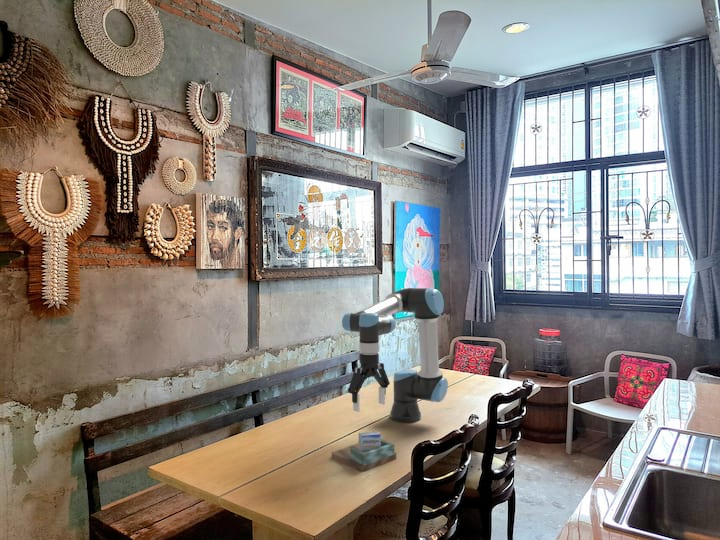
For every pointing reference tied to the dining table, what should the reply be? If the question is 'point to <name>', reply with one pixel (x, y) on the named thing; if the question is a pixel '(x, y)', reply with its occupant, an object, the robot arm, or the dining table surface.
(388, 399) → the dining table surface
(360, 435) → the medicine box
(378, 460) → the dock
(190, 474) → the dining table surface
